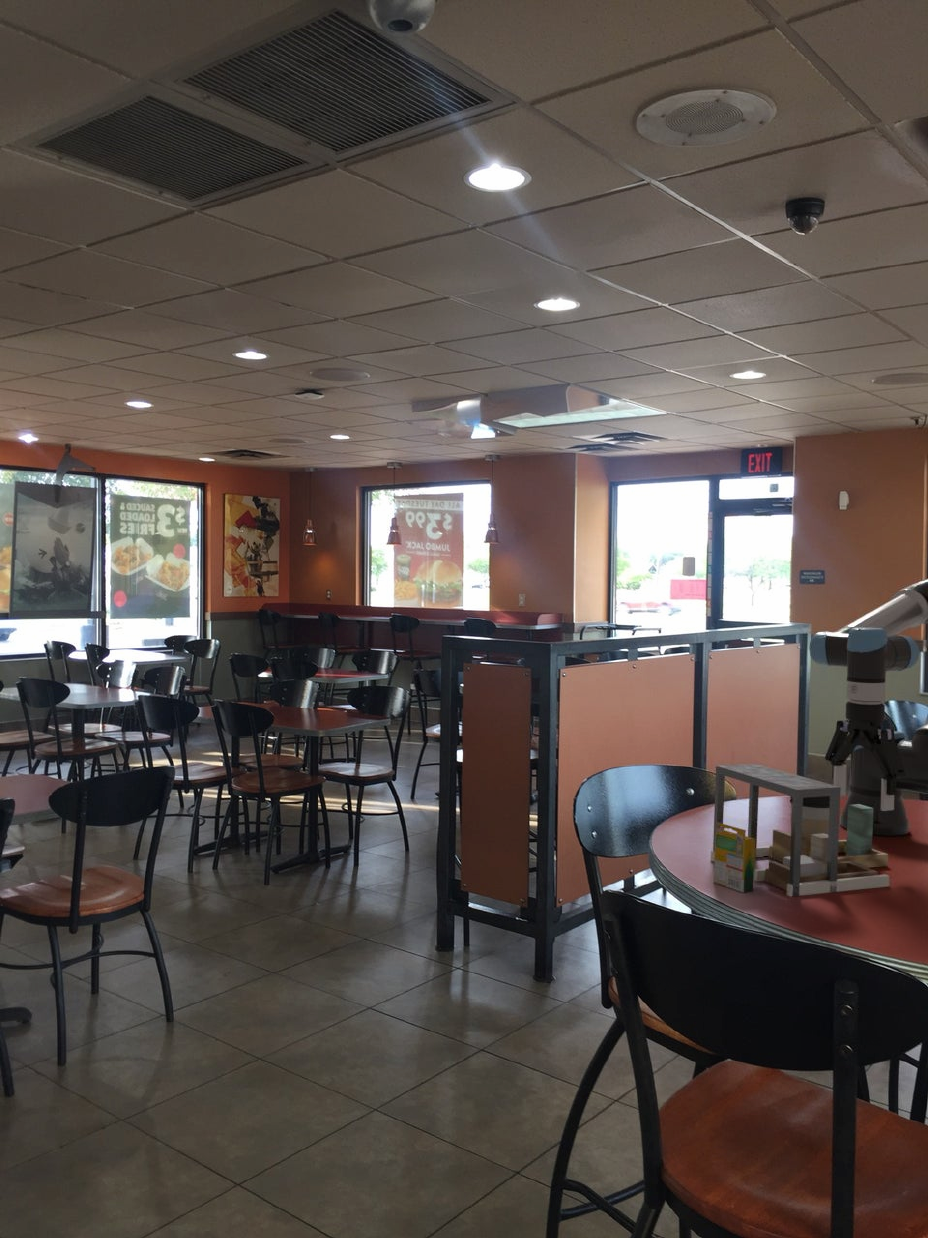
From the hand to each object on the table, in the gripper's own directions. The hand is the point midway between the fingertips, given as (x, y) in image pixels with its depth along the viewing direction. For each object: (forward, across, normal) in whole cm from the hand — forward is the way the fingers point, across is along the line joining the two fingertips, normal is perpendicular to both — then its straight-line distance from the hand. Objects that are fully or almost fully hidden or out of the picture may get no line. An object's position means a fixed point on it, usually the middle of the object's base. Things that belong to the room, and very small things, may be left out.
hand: (862, 803), depth 206 cm
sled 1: (+12, 0, -9) cm, 15 cm away
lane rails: (+11, +5, -21) cm, 24 cm away
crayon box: (+11, +9, -39) cm, 41 cm away
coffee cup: (+12, 0, -13) cm, 18 cm away
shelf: (+11, +5, -27) cm, 29 cm away
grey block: (+11, +12, -25) cm, 30 cm away
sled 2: (+11, +12, -21) cm, 26 cm away
